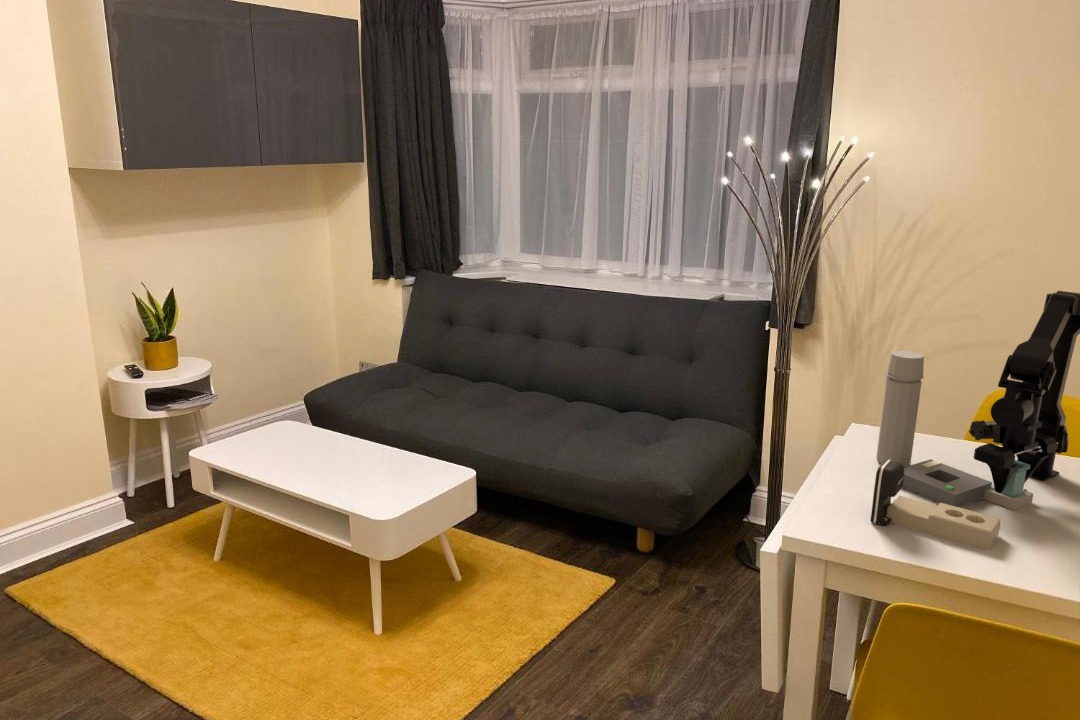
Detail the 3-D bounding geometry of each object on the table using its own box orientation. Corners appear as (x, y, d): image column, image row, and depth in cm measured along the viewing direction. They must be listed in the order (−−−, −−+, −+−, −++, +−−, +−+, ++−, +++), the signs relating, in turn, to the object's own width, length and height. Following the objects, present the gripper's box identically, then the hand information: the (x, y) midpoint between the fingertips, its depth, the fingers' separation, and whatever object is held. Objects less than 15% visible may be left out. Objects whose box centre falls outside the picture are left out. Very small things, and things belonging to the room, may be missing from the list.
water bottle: (917, 469, 188) (932, 359, 181) (881, 469, 188) (895, 358, 181) (900, 453, 197) (915, 347, 190) (866, 453, 197) (879, 347, 190)
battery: (890, 529, 161) (897, 472, 158) (869, 523, 163) (876, 467, 160) (900, 516, 166) (907, 460, 163) (879, 510, 168) (887, 456, 165)
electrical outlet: (900, 491, 169) (1001, 517, 158) (897, 510, 170) (998, 538, 159) (888, 503, 163) (992, 531, 152) (885, 522, 164) (988, 552, 154)
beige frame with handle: (1009, 488, 179) (1011, 479, 179) (1040, 499, 174) (1042, 490, 173) (982, 497, 174) (984, 488, 174) (1013, 510, 169) (1014, 500, 169)
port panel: (928, 472, 187) (930, 457, 186) (989, 495, 175) (992, 480, 174) (892, 483, 181) (894, 468, 180) (953, 509, 169) (955, 493, 169)
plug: (1003, 494, 176) (1009, 457, 174) (1024, 502, 173) (1030, 465, 171) (990, 498, 174) (996, 461, 172) (1011, 507, 171) (1017, 469, 168)
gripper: (1009, 396, 180) (998, 465, 184) (954, 410, 170) (943, 484, 175) (1064, 411, 171) (1050, 484, 175) (1008, 428, 161) (995, 504, 166)
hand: (1009, 488), depth 173 cm, fingers open, 7 cm apart
